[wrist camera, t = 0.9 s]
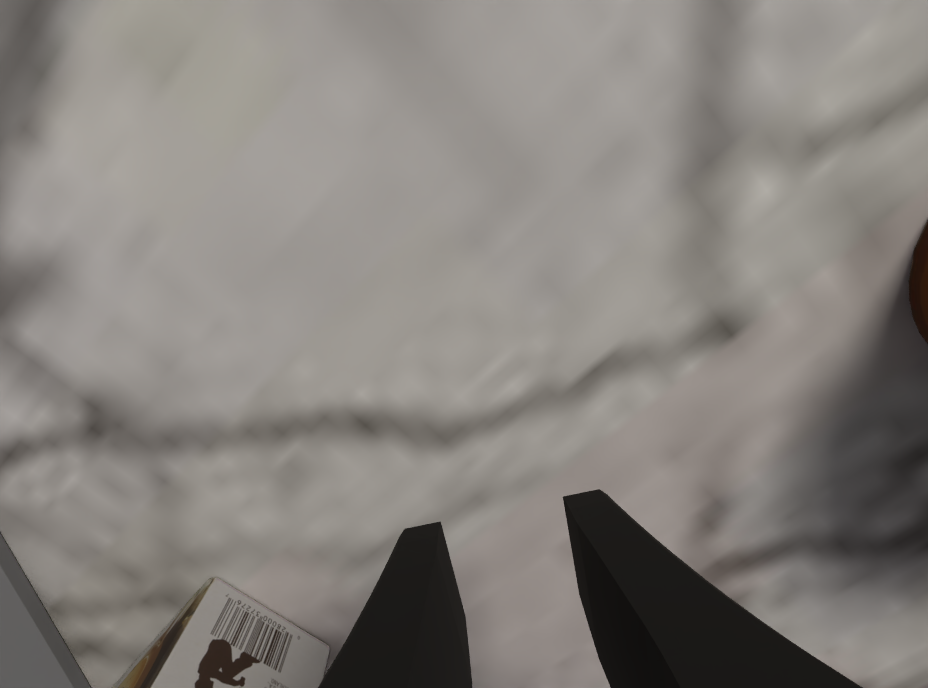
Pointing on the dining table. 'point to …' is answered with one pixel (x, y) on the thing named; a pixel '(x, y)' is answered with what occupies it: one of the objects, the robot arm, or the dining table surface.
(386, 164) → the dining table surface
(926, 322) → the food container
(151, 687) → the coffee box
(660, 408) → the dining table surface
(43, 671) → the mat
